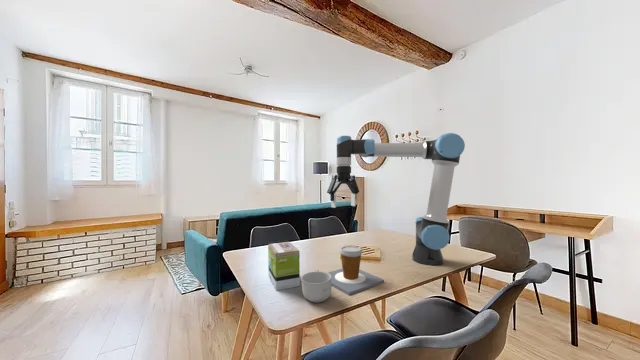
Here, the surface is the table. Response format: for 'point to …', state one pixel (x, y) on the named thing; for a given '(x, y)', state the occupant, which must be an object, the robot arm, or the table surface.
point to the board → (353, 281)
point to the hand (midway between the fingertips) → (343, 206)
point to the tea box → (283, 265)
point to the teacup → (316, 286)
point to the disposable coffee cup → (350, 261)
